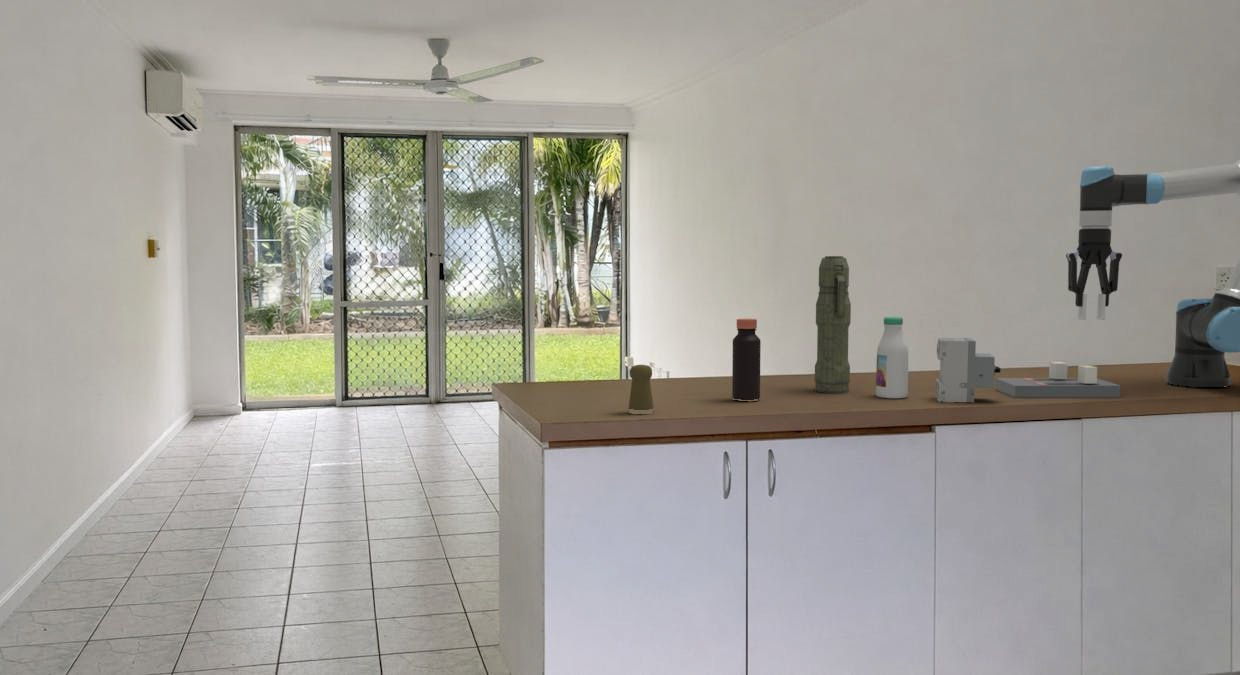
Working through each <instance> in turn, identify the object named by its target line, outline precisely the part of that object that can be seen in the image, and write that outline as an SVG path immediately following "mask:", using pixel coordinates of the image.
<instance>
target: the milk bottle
mask: <svg viewBox="0 0 1240 675" xmlns="http://www.w3.org/2000/svg"><path fill="white" fill-rule="evenodd" d="M903 323H904V319H903V317H901V316H884V318H883V327H884V330H883V334H882V336H881V338H880V341H879V343H878V346H877V351H876V374H875V376H876V377H875V378H876V379H875V380H876V381H875V395H876V397H877V398H882V399H883V398H884V399H905V398H907V397H908V395H909V394H908V393H909V387H908V386H909V347H908V345H907V342H906V339H905V337H904V334H903V330H902V328H903V326H904V325H903Z"/></svg>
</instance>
